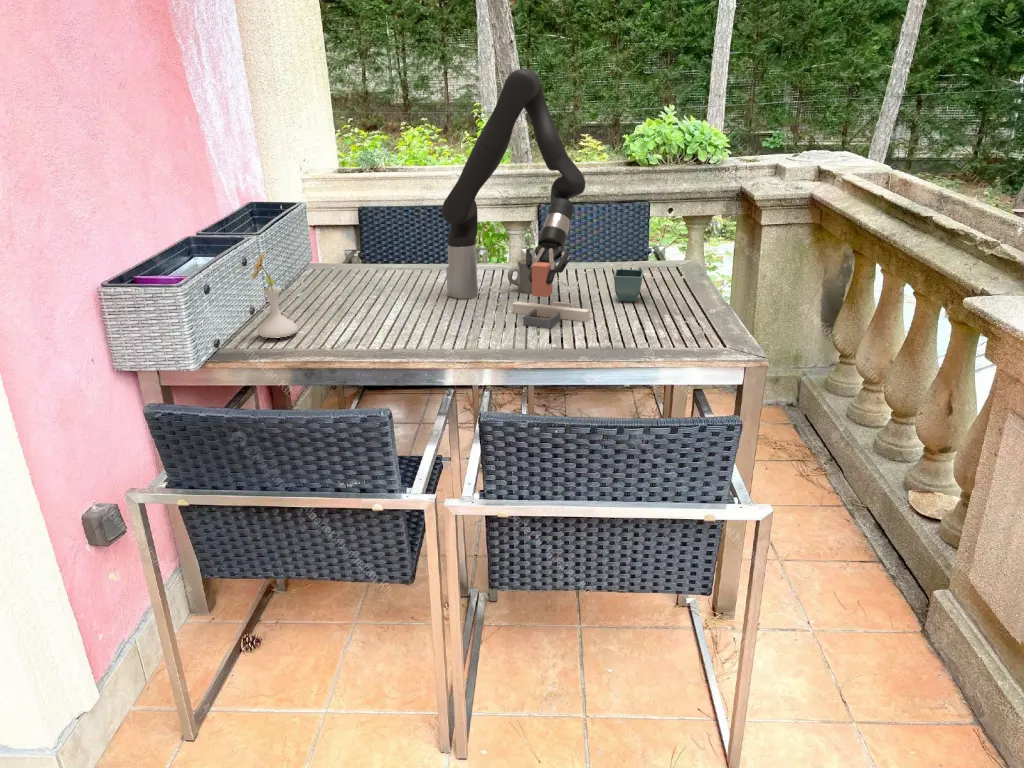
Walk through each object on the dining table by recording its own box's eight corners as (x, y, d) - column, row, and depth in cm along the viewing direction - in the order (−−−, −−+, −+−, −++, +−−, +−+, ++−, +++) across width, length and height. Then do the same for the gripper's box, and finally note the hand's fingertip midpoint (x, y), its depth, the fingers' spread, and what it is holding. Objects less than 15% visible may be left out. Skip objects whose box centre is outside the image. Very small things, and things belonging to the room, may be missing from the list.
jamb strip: (512, 313, 238) (512, 303, 236) (527, 303, 247) (526, 293, 246) (586, 321, 228) (586, 312, 227) (598, 311, 238) (598, 301, 237)
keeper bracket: (523, 325, 227) (523, 317, 226) (533, 317, 233) (533, 309, 232) (550, 328, 223) (550, 320, 222) (560, 320, 230) (560, 312, 229)
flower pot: (640, 304, 243) (642, 276, 240) (612, 303, 245) (613, 275, 241) (642, 296, 251) (643, 269, 248) (615, 295, 253) (615, 268, 249)
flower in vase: (265, 329, 228) (252, 245, 218) (303, 329, 227) (292, 245, 218) (250, 344, 216) (236, 256, 206) (290, 344, 215) (278, 256, 206)
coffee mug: (546, 285, 266) (546, 256, 262) (548, 293, 257) (548, 263, 253) (507, 286, 266) (506, 257, 262) (508, 294, 257) (507, 264, 253)
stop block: (532, 295, 224) (531, 265, 221) (538, 291, 228) (537, 261, 225) (546, 297, 223) (546, 266, 219) (552, 293, 226) (552, 262, 223)
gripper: (528, 223, 227) (512, 273, 222) (574, 226, 221) (559, 278, 216) (536, 237, 234) (520, 287, 228) (580, 240, 228) (566, 291, 223)
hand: (539, 282), depth 222 cm, fingers closed on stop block, 4 cm apart
